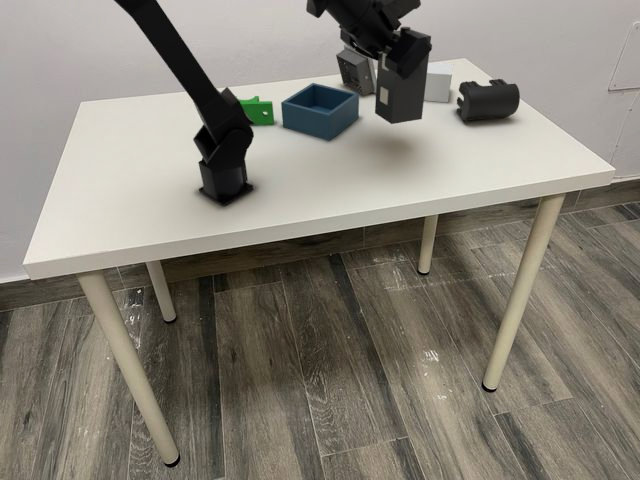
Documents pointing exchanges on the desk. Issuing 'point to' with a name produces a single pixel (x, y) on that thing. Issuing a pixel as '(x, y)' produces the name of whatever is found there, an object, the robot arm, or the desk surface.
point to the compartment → (320, 110)
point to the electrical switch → (357, 71)
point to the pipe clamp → (258, 111)
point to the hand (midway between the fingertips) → (409, 72)
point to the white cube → (438, 82)
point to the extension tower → (399, 90)
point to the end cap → (487, 100)
